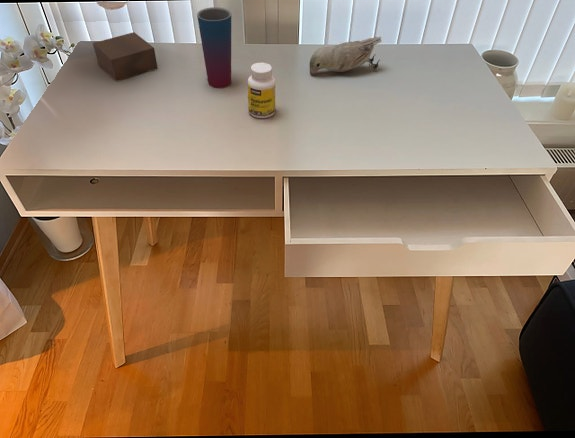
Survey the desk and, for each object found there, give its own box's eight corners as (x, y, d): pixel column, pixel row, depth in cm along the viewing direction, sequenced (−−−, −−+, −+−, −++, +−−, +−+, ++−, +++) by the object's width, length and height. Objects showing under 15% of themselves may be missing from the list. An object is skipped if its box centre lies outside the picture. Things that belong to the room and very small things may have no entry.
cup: (202, 89, 109) (194, 20, 99) (206, 74, 114) (199, 6, 104) (234, 90, 109) (229, 21, 99) (236, 75, 114) (232, 7, 104)
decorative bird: (306, 69, 117) (307, 38, 112) (372, 63, 120) (376, 32, 115) (312, 81, 113) (314, 48, 108) (380, 74, 116) (385, 42, 111)
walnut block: (116, 81, 111) (111, 59, 108) (97, 64, 117) (92, 43, 114) (157, 68, 116) (154, 47, 113) (138, 52, 122) (134, 32, 118)
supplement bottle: (247, 118, 102) (245, 73, 95) (249, 104, 105) (248, 59, 99) (274, 119, 101) (274, 74, 95) (276, 105, 105) (276, 60, 99)
